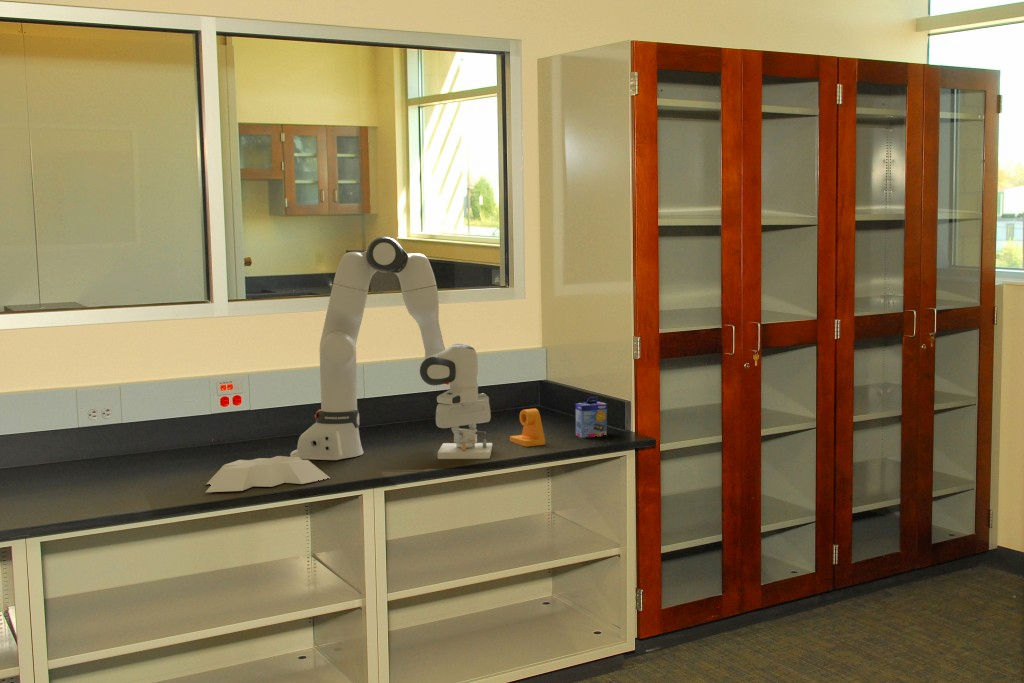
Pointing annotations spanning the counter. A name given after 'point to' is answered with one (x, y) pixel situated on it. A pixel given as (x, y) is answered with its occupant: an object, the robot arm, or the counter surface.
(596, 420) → the ink cartridge box
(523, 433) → the bracket
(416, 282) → the robot arm
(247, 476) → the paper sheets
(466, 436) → the knob
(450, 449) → the dial plate
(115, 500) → the counter surface
